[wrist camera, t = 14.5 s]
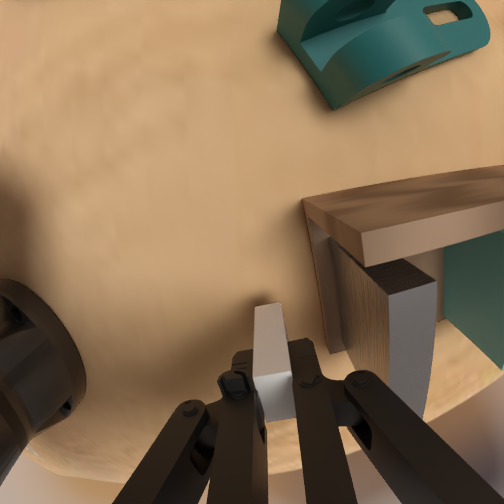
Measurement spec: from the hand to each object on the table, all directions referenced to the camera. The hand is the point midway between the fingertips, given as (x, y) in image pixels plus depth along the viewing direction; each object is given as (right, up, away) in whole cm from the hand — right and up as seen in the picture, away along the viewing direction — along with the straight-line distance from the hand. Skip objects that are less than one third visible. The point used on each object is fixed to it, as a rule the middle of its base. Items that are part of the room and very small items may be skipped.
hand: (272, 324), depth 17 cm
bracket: (+10, +20, -2) cm, 23 cm away
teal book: (+15, +4, +1) cm, 15 cm away
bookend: (+5, +2, +1) cm, 6 cm away
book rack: (+15, +5, +1) cm, 16 cm away
